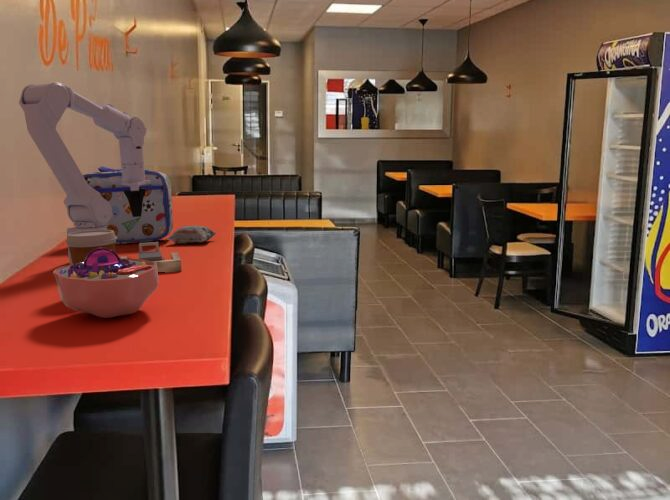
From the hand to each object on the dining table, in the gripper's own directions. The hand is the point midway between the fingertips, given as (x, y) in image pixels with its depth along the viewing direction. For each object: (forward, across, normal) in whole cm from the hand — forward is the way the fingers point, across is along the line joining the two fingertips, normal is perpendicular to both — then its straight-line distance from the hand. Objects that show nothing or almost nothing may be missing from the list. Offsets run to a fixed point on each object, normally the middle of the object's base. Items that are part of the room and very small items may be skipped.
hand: (136, 216), depth 186 cm
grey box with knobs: (+9, -26, -2) cm, 28 cm away
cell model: (+10, -67, +6) cm, 68 cm away
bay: (+9, -26, -2) cm, 28 cm away
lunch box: (+10, +20, +3) cm, 22 cm away
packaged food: (+10, +8, -14) cm, 19 cm away
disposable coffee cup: (+10, -48, +9) cm, 50 cm away
